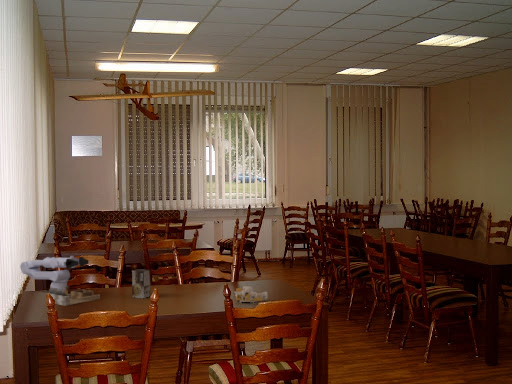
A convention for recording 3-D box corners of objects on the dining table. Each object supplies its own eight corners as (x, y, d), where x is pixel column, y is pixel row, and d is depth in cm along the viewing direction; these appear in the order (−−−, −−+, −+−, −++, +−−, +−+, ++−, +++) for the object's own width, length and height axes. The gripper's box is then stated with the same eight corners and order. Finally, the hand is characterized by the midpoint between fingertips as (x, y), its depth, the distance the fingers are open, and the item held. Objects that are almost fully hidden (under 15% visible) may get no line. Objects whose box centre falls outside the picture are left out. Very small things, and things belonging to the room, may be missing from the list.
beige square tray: (70, 299, 392) (70, 291, 392) (82, 297, 399) (82, 289, 399) (81, 301, 387) (81, 293, 387) (93, 298, 394) (93, 291, 394)
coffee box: (150, 297, 404) (151, 270, 404) (143, 298, 399) (143, 271, 398) (138, 295, 409) (139, 268, 408) (131, 297, 403) (131, 270, 403)
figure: (272, 301, 395) (272, 285, 395) (255, 306, 380) (255, 290, 380) (247, 298, 404) (247, 282, 404) (229, 303, 389) (229, 286, 389)
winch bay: (46, 303, 382) (46, 283, 382) (81, 296, 403) (81, 278, 402) (66, 306, 373) (66, 286, 373) (100, 299, 394) (100, 281, 393)
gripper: (56, 257, 392) (72, 256, 385) (76, 254, 404) (92, 254, 397) (57, 269, 392) (73, 269, 385) (76, 266, 404) (92, 266, 397)
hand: (82, 262), depth 391 cm, fingers open, 7 cm apart
